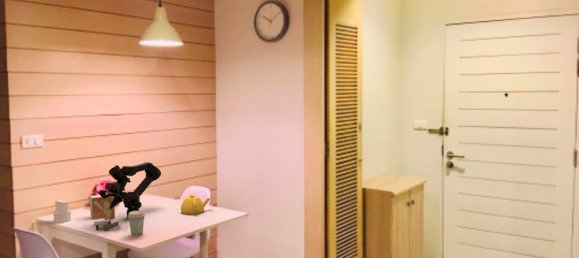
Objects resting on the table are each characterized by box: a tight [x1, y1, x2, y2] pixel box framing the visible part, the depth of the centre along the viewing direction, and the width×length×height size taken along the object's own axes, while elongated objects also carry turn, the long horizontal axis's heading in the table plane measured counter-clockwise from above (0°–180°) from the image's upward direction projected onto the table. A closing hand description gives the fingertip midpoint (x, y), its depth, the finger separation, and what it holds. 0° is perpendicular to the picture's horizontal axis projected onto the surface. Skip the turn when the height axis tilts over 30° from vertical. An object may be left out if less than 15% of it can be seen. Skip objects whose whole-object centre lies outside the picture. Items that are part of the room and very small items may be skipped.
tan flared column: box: [103, 197, 116, 221], centre depth 261 cm, size 4×4×12 cm
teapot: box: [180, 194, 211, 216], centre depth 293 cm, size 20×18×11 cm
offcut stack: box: [97, 223, 107, 232], centre depth 257 cm, size 4×3×4 cm
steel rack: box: [95, 220, 120, 232], centre depth 260 cm, size 11×6×2 cm, turn 160°
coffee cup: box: [127, 210, 146, 237], centre depth 248 cm, size 9×8×12 cm
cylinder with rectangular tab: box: [53, 199, 72, 224], centre depth 273 cm, size 9×9×12 cm
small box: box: [89, 194, 104, 220], centre depth 281 cm, size 8×6×13 cm
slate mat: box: [93, 220, 108, 227], centre depth 269 cm, size 7×7×1 cm
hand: (107, 208), depth 260 cm, fingers closed on tan flared column, 3 cm apart
